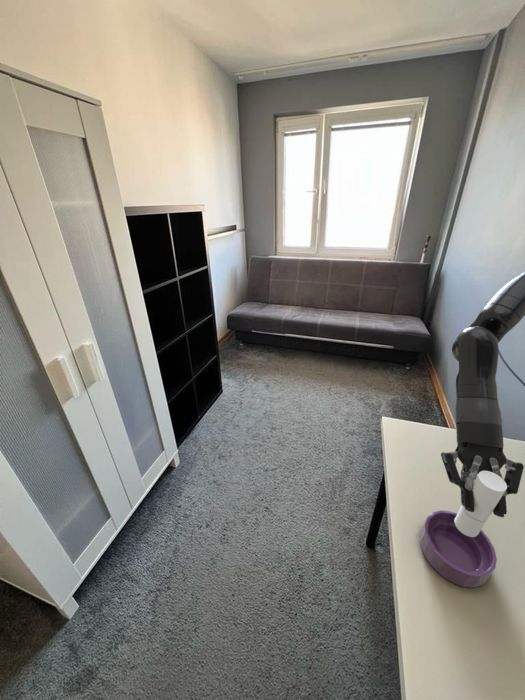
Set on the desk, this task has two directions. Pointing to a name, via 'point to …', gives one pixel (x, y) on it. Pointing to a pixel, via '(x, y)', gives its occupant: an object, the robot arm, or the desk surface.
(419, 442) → the desk surface
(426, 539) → the bowl
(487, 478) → the tube
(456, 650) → the desk surface
